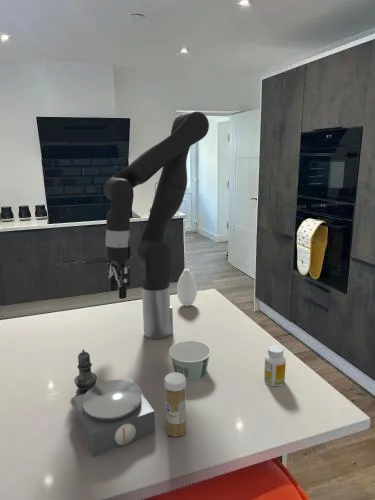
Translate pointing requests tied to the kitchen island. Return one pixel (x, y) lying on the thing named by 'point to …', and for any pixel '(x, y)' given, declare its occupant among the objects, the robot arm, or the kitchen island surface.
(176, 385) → the sprinkles bottle
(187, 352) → the food container
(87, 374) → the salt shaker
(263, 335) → the kitchen island surface
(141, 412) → the kitchen scale
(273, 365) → the supplement bottle
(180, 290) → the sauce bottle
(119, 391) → the scale pan
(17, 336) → the kitchen island surface
